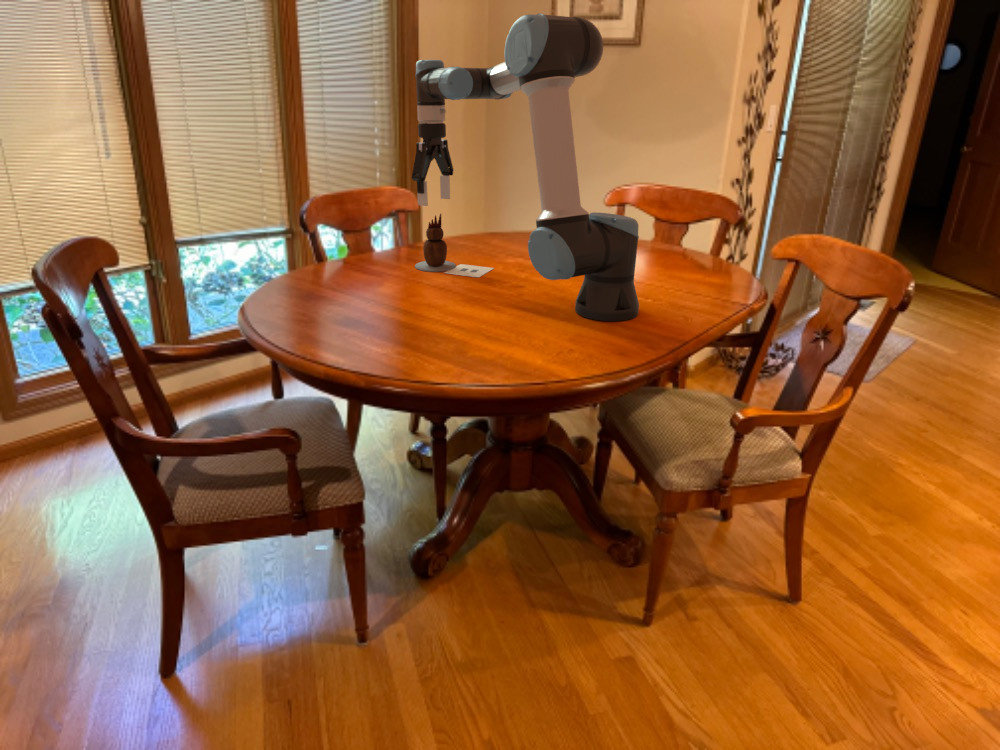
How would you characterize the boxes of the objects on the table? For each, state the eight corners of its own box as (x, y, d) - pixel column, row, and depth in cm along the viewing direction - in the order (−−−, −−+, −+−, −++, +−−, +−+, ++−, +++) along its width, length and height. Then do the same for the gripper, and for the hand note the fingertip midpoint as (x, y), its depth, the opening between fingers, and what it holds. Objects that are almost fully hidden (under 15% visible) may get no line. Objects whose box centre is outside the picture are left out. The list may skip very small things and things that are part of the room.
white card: (478, 277, 192) (478, 277, 192) (443, 273, 196) (443, 272, 196) (494, 268, 201) (494, 268, 201) (460, 264, 205) (460, 264, 205)
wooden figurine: (448, 263, 204) (448, 212, 198) (444, 268, 199) (443, 216, 193) (426, 262, 205) (425, 211, 199) (421, 267, 200) (420, 215, 194)
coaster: (444, 273, 195) (444, 272, 195) (407, 269, 199) (407, 267, 199) (462, 264, 205) (462, 262, 205) (427, 259, 209) (427, 258, 209)
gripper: (421, 124, 174) (424, 209, 182) (464, 120, 195) (465, 196, 204) (395, 124, 177) (400, 207, 185) (440, 120, 198) (442, 195, 206)
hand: (434, 202), depth 194 cm, fingers open, 13 cm apart
